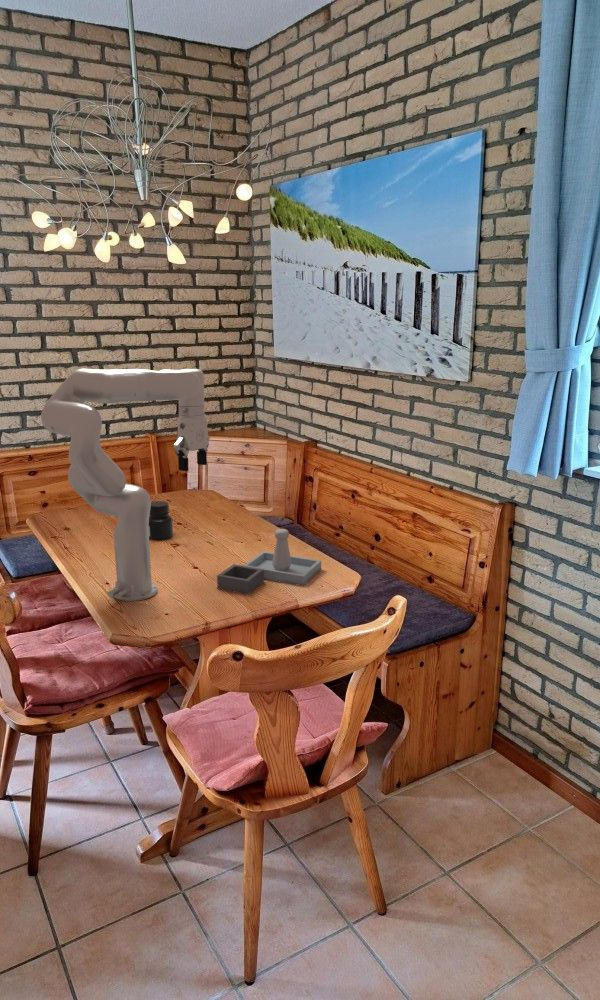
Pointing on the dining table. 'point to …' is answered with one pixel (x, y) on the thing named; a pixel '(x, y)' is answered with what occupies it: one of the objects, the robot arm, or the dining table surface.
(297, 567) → the tray
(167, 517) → the ink bottle
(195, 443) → the robot arm
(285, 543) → the salt shaker
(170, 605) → the dining table surface
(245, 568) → the holder
